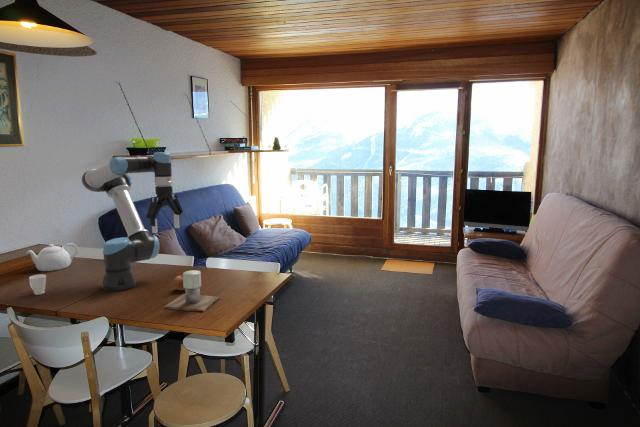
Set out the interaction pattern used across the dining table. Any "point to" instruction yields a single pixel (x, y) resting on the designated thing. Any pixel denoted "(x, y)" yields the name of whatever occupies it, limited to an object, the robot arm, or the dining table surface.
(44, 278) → the cup
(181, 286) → the apple
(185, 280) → the cap
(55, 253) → the teapot
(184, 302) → the bottle on square board
